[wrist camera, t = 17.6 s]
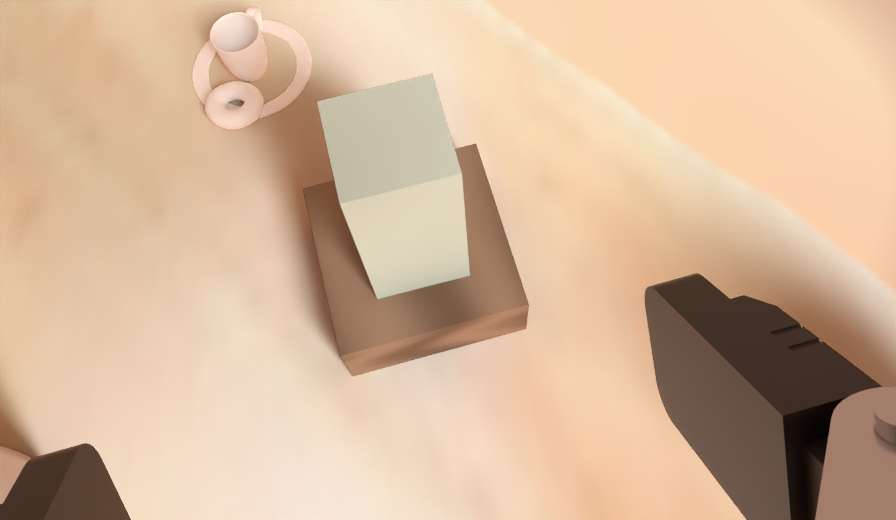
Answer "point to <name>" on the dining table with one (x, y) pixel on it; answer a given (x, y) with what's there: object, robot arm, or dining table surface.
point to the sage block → (398, 183)
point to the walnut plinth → (425, 309)
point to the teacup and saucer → (246, 68)
